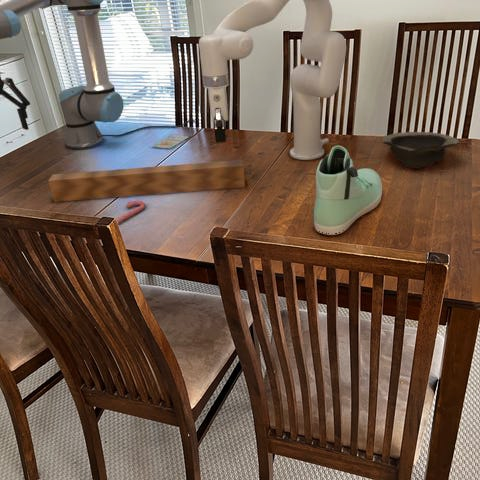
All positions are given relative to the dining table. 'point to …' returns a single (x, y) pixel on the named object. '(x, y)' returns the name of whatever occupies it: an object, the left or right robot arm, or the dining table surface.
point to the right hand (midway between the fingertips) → (221, 136)
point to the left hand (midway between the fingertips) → (5, 134)
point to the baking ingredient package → (170, 141)
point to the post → (147, 180)
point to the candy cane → (132, 210)
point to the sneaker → (343, 192)
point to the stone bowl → (419, 147)
